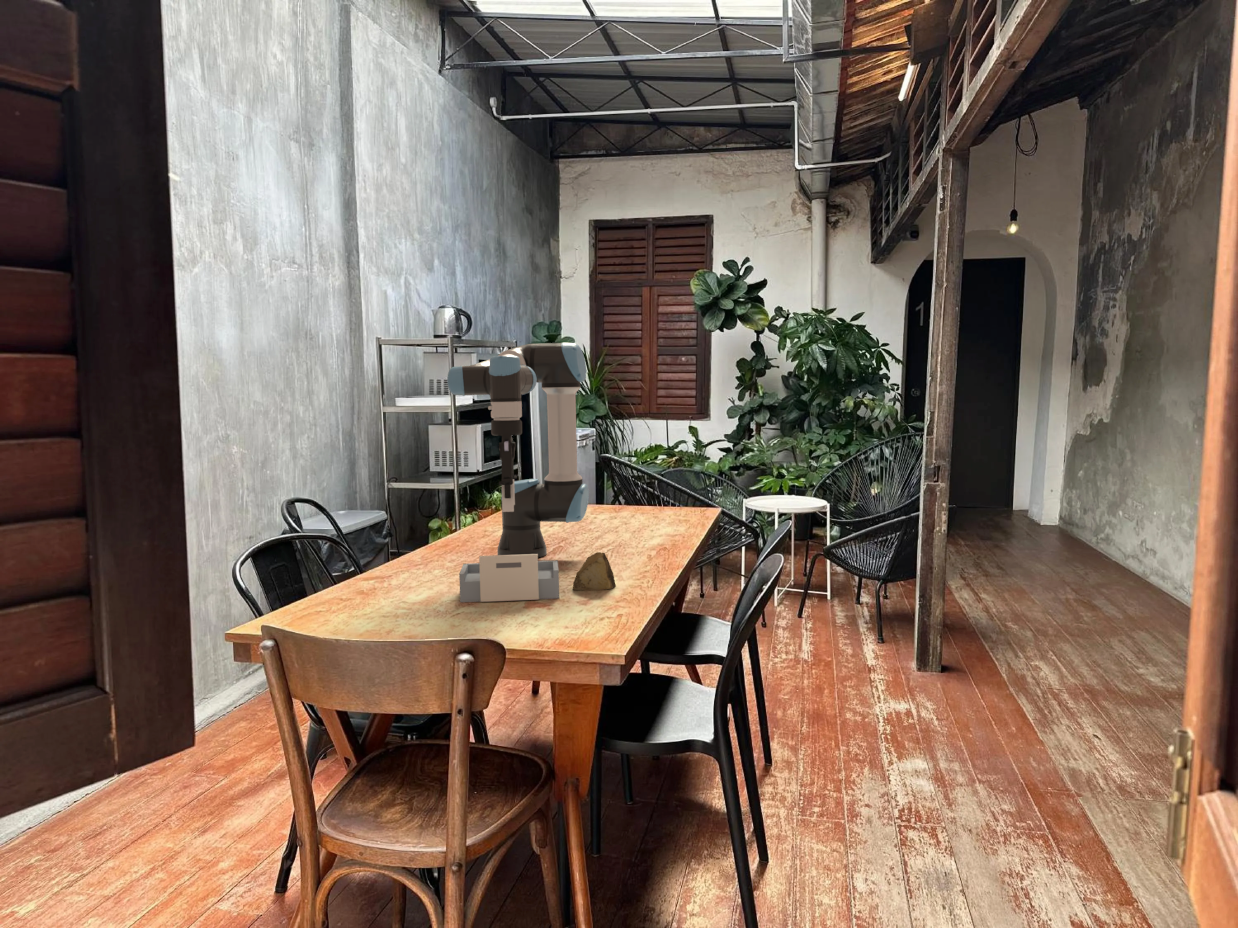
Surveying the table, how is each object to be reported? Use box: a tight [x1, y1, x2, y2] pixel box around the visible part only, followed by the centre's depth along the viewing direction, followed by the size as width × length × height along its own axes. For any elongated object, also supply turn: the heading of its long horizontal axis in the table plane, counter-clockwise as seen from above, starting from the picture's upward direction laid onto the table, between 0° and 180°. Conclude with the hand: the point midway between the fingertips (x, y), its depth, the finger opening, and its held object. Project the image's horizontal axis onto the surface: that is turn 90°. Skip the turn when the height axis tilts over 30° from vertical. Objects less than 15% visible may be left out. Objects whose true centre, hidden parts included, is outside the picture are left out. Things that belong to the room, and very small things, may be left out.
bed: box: [458, 559, 560, 603], centre depth 212 cm, size 12×24×7 cm, turn 96°
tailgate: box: [478, 554, 540, 603], centre depth 205 cm, size 1×14×11 cm, turn 95°
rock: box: [572, 551, 617, 591], centre depth 218 cm, size 11×9×10 cm
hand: (508, 508), depth 210 cm, fingers open, 11 cm apart
